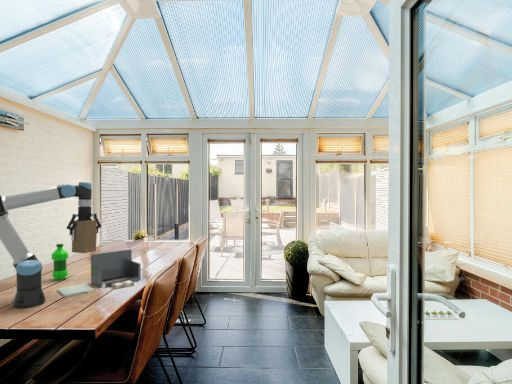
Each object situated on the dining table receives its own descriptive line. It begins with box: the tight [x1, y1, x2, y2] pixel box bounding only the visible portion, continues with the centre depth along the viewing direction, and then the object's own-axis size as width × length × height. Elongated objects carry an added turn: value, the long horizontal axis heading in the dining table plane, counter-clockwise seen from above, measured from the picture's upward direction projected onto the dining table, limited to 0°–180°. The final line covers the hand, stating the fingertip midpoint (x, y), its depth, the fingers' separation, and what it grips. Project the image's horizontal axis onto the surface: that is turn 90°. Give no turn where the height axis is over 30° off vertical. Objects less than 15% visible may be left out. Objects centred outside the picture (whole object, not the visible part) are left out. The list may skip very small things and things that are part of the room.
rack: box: [90, 248, 142, 288], centre depth 230 cm, size 28×19×20 cm
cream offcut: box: [111, 280, 135, 290], centre depth 219 cm, size 12×7×2 cm, turn 133°
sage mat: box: [56, 283, 96, 298], centre depth 212 cm, size 17×18×1 cm
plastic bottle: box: [51, 243, 69, 281], centre depth 241 cm, size 10×10×25 cm
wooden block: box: [71, 219, 97, 254], centre depth 215 cm, size 10×10×20 cm
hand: (84, 239), depth 215 cm, fingers closed on wooden block, 13 cm apart
